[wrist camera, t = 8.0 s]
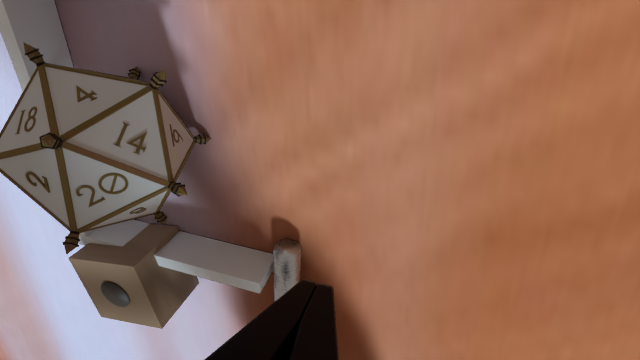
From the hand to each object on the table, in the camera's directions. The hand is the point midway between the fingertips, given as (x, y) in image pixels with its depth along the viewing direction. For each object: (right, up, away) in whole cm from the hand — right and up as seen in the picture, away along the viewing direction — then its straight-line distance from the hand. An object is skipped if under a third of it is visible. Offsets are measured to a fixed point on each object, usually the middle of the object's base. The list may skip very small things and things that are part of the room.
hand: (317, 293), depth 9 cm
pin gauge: (-2, -4, +13) cm, 14 cm away
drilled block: (-11, -2, +16) cm, 20 cm away
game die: (-9, +6, +10) cm, 15 cm away
